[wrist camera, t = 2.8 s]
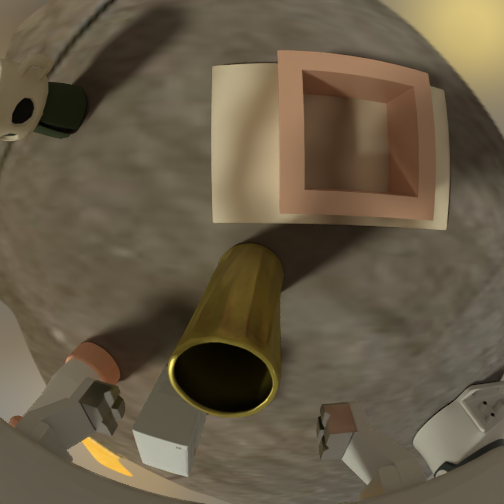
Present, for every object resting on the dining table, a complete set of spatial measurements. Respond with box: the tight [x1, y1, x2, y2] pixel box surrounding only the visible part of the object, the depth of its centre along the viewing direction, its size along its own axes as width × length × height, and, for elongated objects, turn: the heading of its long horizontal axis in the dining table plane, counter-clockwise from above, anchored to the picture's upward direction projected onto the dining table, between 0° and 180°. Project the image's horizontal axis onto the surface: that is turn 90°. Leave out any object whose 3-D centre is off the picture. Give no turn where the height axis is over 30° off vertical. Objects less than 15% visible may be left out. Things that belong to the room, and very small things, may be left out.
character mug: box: [0, 53, 87, 141], centre depth 15 cm, size 11×7×13 cm, turn 116°
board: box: [212, 63, 450, 230], centre depth 20 cm, size 22×14×1 cm, turn 90°
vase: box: [168, 243, 284, 417], centre depth 18 cm, size 6×6×14 cm
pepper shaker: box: [9, 342, 120, 428], centre depth 21 cm, size 7×7×19 cm
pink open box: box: [277, 50, 436, 221], centre depth 17 cm, size 11×11×6 cm
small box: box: [132, 366, 207, 477], centre depth 25 cm, size 8×6×10 cm
